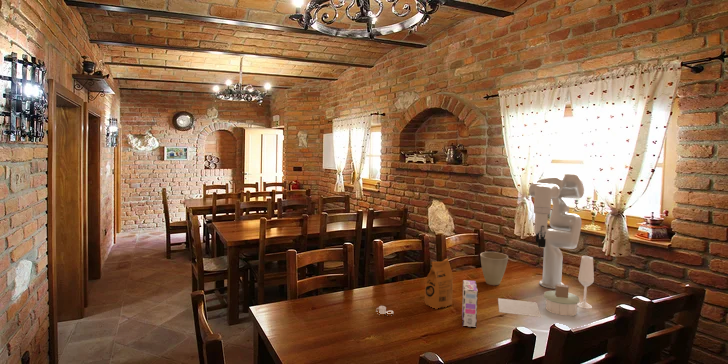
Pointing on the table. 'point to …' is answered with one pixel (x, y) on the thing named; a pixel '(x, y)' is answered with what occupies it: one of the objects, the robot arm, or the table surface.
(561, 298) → the lid
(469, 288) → the candy box
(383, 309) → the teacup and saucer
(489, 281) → the plant pot
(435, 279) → the coffee package
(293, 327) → the table surface
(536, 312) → the mat
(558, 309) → the bowl
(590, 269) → the champagne flute
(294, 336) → the table surface
